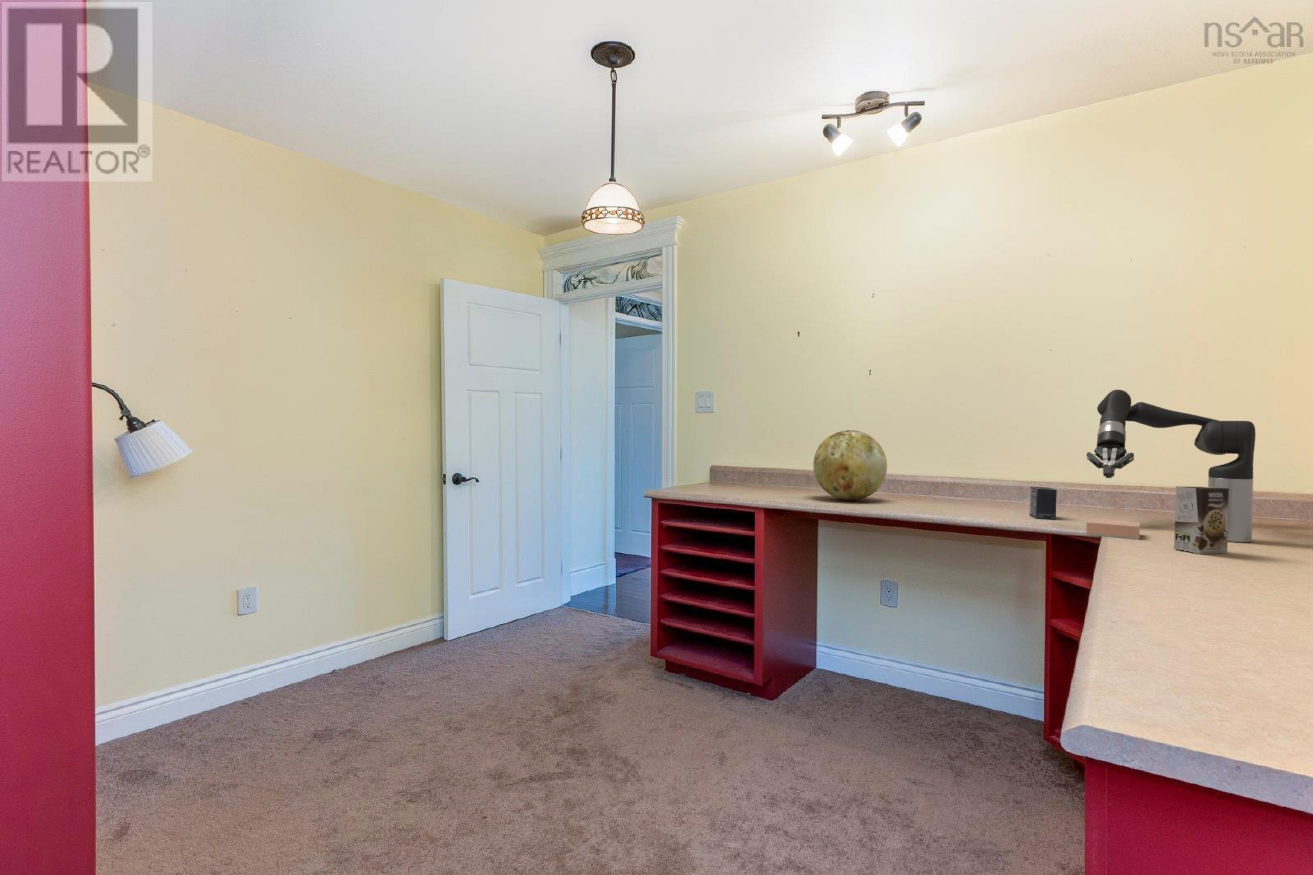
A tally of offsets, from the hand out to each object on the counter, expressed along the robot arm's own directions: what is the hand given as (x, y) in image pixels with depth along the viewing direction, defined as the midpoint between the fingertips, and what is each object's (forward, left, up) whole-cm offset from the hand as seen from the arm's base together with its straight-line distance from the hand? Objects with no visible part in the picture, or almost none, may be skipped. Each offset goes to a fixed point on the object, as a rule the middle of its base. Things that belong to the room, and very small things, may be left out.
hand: (1108, 476), depth 196 cm
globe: (+28, -88, -16) cm, 93 cm away
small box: (-2, -23, -16) cm, 28 cm away
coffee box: (+22, +35, -16) cm, 45 cm away
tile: (+10, +8, -14) cm, 19 cm away
